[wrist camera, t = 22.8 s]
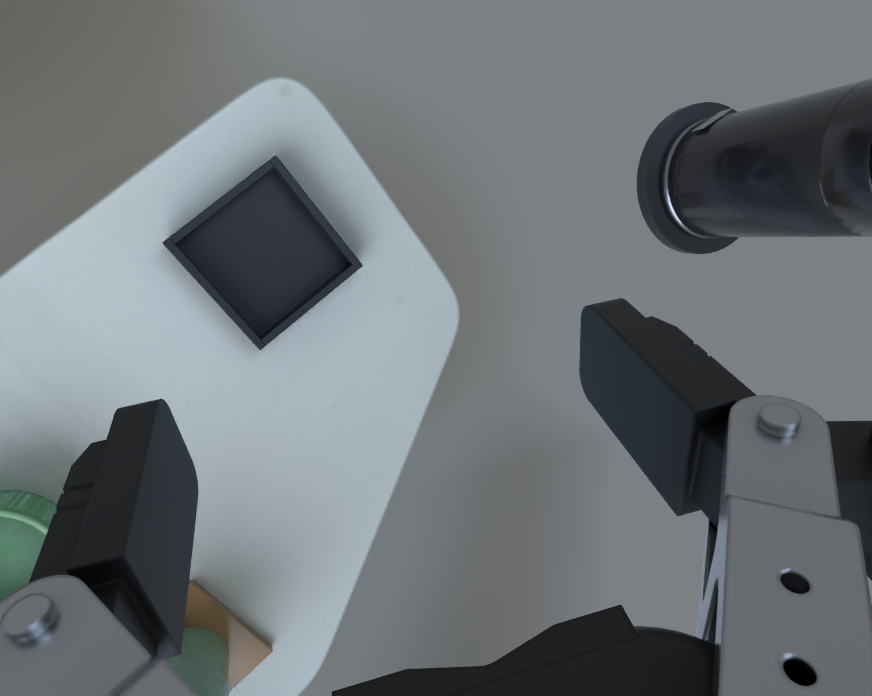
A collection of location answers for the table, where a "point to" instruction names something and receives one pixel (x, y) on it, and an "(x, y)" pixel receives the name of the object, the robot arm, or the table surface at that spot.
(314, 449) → the table surface
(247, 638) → the coaster
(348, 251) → the tray
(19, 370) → the table surface
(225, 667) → the tin
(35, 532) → the ramekin
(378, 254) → the table surface
